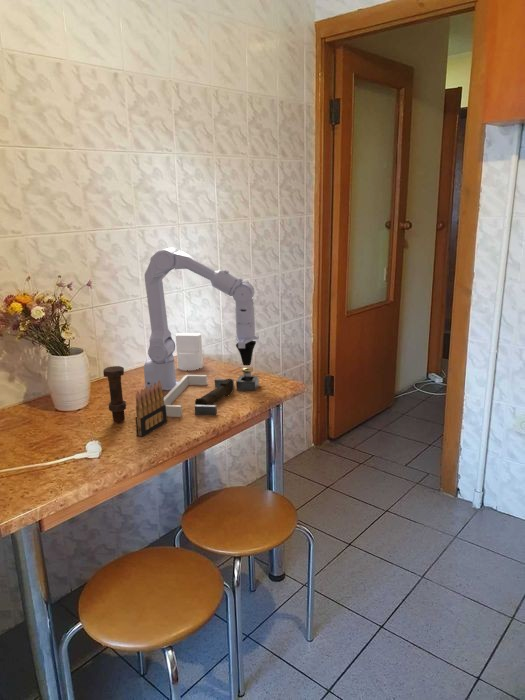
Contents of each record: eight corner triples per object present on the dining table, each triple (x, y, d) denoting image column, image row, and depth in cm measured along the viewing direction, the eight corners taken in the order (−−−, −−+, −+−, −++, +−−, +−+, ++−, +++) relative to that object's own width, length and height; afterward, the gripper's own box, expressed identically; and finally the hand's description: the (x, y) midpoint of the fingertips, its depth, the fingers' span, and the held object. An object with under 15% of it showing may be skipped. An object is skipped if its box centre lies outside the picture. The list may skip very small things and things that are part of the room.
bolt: (133, 418, 147) (128, 366, 143) (123, 426, 143) (117, 372, 139) (115, 416, 149) (109, 365, 145) (104, 423, 145) (98, 370, 141)
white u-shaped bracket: (156, 416, 149) (155, 406, 148) (186, 383, 175) (185, 374, 175) (181, 416, 148) (180, 406, 147) (207, 383, 174) (206, 375, 174)
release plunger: (240, 381, 168) (240, 369, 167) (242, 377, 171) (242, 366, 170) (252, 381, 167) (251, 370, 166) (254, 378, 170) (253, 366, 169)
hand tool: (206, 413, 151) (205, 397, 150) (194, 410, 153) (193, 395, 151) (240, 392, 167) (240, 378, 166) (229, 390, 169) (228, 376, 167)
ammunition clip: (161, 421, 145) (158, 379, 142) (167, 422, 145) (164, 379, 142) (136, 436, 136) (132, 391, 133) (142, 437, 135) (138, 392, 132)
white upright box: (174, 370, 190) (172, 337, 187) (182, 362, 199) (180, 331, 196) (199, 370, 189) (197, 337, 186) (205, 363, 197) (203, 331, 194)
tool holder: (195, 414, 149) (194, 404, 148) (217, 383, 174) (217, 374, 174) (242, 416, 147) (242, 405, 146) (258, 384, 172) (258, 375, 171)
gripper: (253, 327, 157) (255, 372, 160) (261, 317, 170) (263, 358, 174) (230, 327, 158) (232, 371, 161) (240, 317, 172) (241, 358, 175)
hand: (247, 364), depth 168 cm, fingers closed
